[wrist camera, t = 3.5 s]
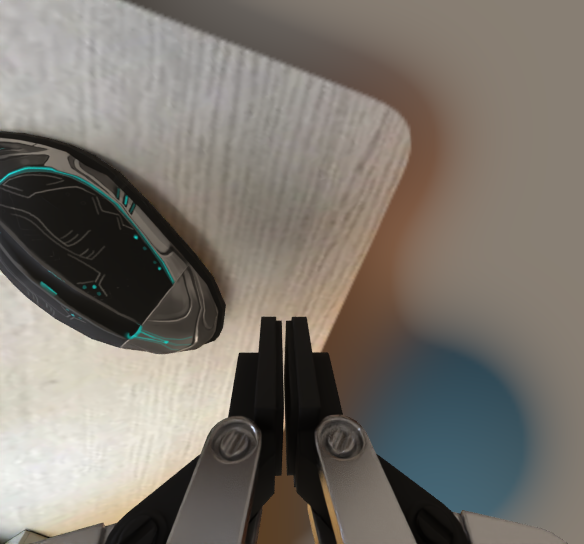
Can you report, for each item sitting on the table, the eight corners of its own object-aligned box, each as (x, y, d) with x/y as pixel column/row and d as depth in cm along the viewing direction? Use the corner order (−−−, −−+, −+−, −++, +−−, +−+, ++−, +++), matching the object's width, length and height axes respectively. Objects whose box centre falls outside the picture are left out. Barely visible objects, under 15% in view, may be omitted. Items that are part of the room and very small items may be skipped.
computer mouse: (-3, 66, 14) (-159, 37, 9) (263, 276, 20) (259, 330, 15) (-64, 199, 17) (-212, 234, 12) (188, 351, 23) (162, 418, 18)
